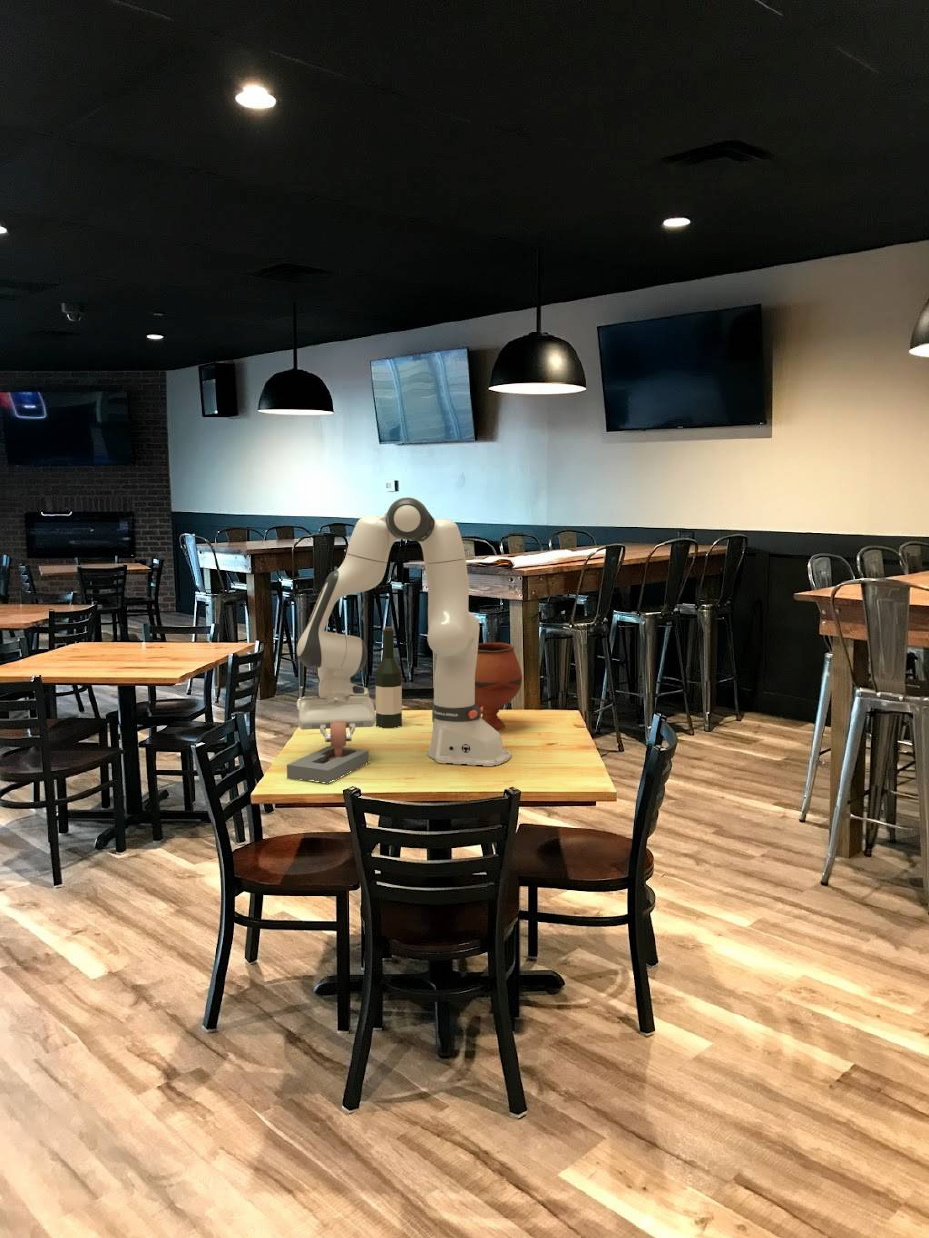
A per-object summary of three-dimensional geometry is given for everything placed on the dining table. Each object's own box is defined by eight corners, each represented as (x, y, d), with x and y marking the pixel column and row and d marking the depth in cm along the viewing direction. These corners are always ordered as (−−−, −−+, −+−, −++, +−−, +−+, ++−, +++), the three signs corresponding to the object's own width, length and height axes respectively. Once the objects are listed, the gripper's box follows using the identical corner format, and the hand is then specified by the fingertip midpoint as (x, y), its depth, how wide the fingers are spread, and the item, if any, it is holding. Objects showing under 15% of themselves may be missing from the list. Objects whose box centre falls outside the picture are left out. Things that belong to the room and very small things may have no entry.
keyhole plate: (329, 758, 270) (329, 745, 270) (368, 763, 265) (368, 750, 265) (287, 778, 252) (286, 764, 251) (328, 784, 247) (328, 770, 247)
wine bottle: (370, 726, 304) (369, 628, 300) (382, 720, 312) (381, 624, 308) (395, 729, 301) (394, 630, 297) (407, 723, 309) (406, 626, 305)
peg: (351, 762, 264) (351, 721, 263) (341, 767, 260) (341, 725, 258) (335, 760, 266) (334, 719, 265) (325, 765, 262) (324, 723, 260)
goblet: (447, 731, 299) (447, 648, 295) (472, 717, 316) (472, 639, 313) (508, 738, 291) (509, 653, 288) (530, 723, 309) (531, 643, 305)
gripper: (296, 690, 265) (298, 736, 257) (373, 688, 269) (378, 732, 261) (296, 703, 270) (297, 748, 262) (372, 700, 274) (376, 745, 266)
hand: (338, 740), depth 262 cm, fingers closed on peg, 4 cm apart
